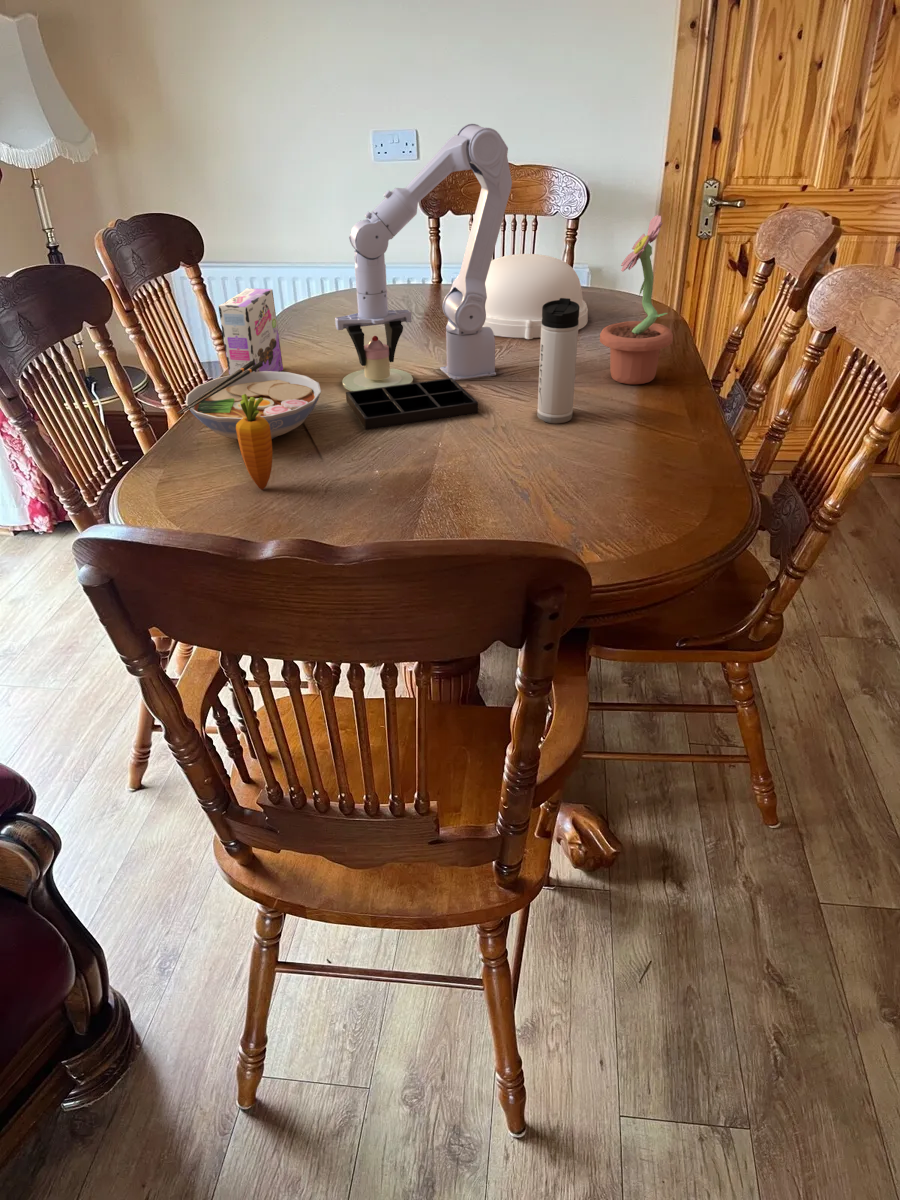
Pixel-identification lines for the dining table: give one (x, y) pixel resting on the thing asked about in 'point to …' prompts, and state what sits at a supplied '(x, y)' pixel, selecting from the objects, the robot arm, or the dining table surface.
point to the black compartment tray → (410, 403)
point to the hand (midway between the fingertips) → (376, 362)
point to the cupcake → (376, 360)
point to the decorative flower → (638, 324)
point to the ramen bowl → (280, 406)
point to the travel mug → (557, 360)
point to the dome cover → (528, 293)
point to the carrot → (255, 442)
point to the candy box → (251, 331)
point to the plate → (360, 382)
